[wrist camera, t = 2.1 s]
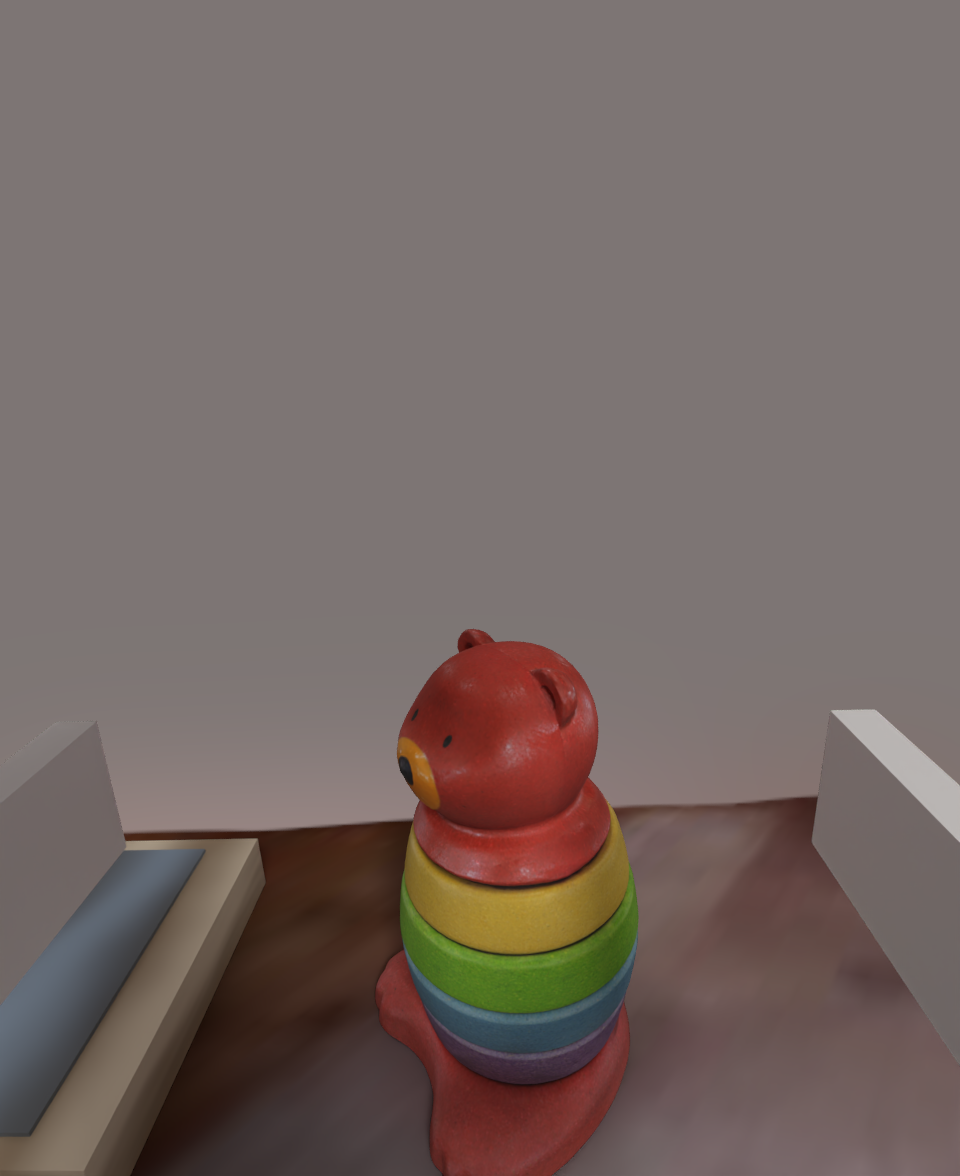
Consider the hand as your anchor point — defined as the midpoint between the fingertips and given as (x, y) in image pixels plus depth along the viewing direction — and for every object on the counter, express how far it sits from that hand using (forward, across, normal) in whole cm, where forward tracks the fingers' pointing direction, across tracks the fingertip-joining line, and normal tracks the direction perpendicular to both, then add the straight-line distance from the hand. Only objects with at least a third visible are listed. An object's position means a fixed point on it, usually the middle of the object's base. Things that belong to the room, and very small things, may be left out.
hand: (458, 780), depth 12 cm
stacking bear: (+11, +1, -20) cm, 23 cm away
